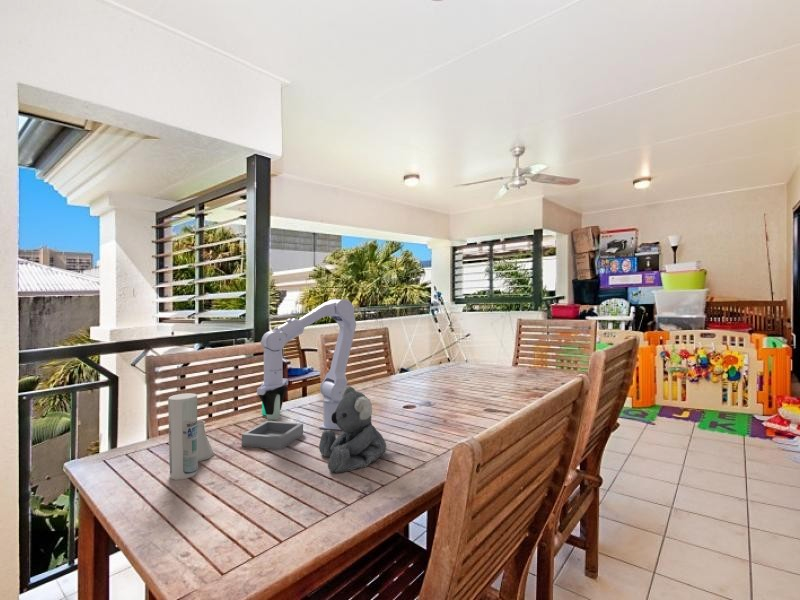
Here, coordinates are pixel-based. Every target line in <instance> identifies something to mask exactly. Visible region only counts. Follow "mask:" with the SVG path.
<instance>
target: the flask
mask: <svg viewBox="0 0 800 600" xmlns="http://www.w3.org/2000/svg"><path fill="white" fill-rule="evenodd" d="M205 424H206V421H204V420H197V459H198V462H202V461H205V460H208V459H210V458H211V457H213V456H214V455H215V453H214V450H213V448H212V446H211V443H210V441H209V440H208V439H209V438H208V437H207V433H206V429H205Z"/></svg>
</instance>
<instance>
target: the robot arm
mask: <svg viewBox="0 0 800 600" xmlns="http://www.w3.org/2000/svg"><path fill="white" fill-rule="evenodd" d="M324 317H331V318H332V319H333V320H334V321H335V322H336V323H337V325H338V326H339V331H338V335H337V338H336V344H335V347H334V352H333V356H332V359H331V363H330V369H329V371H328V372H327V373H326V374H325V375H324V380H322V382H321V384H320V386H319V391H320V394H321V395H322V397H323V399H322V405H323V406H322V408H323V409H322V412H323V414H322V417H323V423H322V424H320V425H319V426H318V428H319V429H324V430H325V429H326V430H338V431H342V430H341V429H340V428H339V427H338V425H337V424H334V423H333V422H332V419H331V417H332V414H333V413H334V412H335V411H336V409H337V406H338V404H339V403H340V402H341V400H342V398H343V397H342V392H343V389H344V388H345V387H347V384H348V379H347V376H346V372H347V367H348V362H349V358H350V353H351V349H352V345H353V341H354V337H355V333H356V327H357V322H356V316H355V306H354V305H353V303H352V302H351V301H350V300H349V299H346V298H342V299H337V298H331V299H329V300H328V301H325V302H323V303H322V304H320V305H318V306H317V307H316V308H314V309H313V310H311V311H310V312H308V313H307V314H305V315H303V316H302V317H300V318H299V319H297V318H294V317H293V318H287V319H286V320H285V321H286V322H285V323H283V324H281V325H279V326H275V327H273V331H271V330H270V331H266V332H265V333H264V334H263V336H262V337H261V340H260V345H261V346H262V347H263V382H261V383H260V386H259V387H257V388H256V395H257V396H258V397H259V398H260V400H261V403H262V402H263V405H264V408H265V412H266V414H268V415H272V414H273V412H274V403H275V398H276V396H277V394H279V395H280V411H281V410H282V408H283V402H284V399H285V396H286V394H287V392H288V385H289V378H283V376H284V374H283V371H284V370H283V368H284V367H283V365H284V364H283V363H284V361H283V348H284V347H285V345H286V344H287V343H289V342H290V341H292V340H294V339H295V338H297V337H299V336H301V335H302V334H303V333H304V331H305V328H306V327H308V326H310V325H312V324H313V323H315V322H318V321H319V320H321V319H322V318H324Z"/></svg>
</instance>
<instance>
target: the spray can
mask: <svg viewBox="0 0 800 600" xmlns="http://www.w3.org/2000/svg"><path fill="white" fill-rule="evenodd" d="M167 405H168V406H167V407H168V411H167V412H168V443H169V444H168V445H169V447H168V448H169V449H168V451H169V455H168V459H169V478H170V479H171V480H176V481H177V480H179V481H180V480H185V479H188V478H192V477H194V476H195V475H196V474H197V473H198V470H199V469H198V468H199V465H198V459H197V421H198V395H197V393H191V392H188V393H187V392H186V393H178V394H174V395H171V396H169V397H168V398H167Z"/></svg>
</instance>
